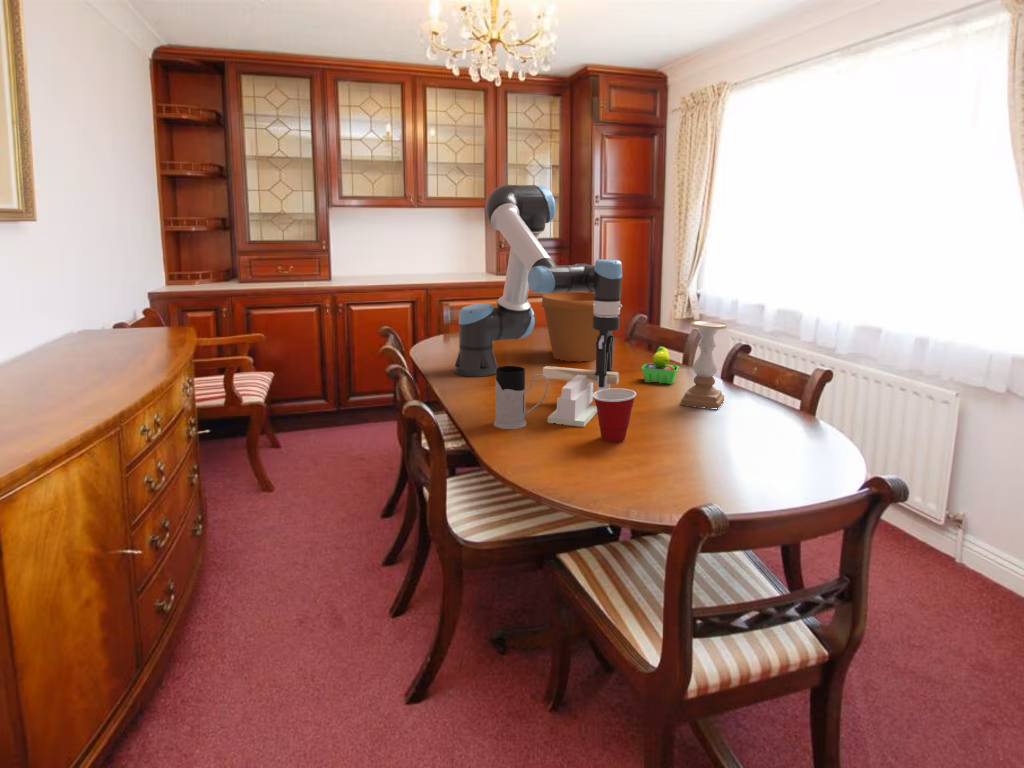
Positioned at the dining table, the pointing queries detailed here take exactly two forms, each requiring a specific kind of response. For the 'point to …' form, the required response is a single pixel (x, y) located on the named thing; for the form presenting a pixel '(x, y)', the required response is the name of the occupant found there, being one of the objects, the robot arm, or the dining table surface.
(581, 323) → the flowerpot
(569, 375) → the birch batten
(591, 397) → the rest block
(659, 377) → the fruit basket
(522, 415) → the glass holder
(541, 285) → the robot arm
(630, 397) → the plastic cup
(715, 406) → the candle holder
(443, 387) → the dining table surface
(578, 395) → the ridge stand
